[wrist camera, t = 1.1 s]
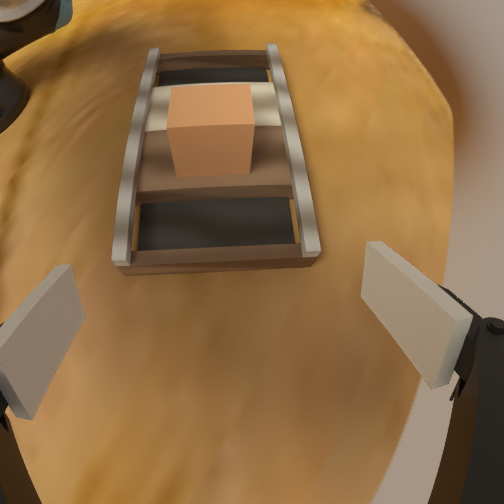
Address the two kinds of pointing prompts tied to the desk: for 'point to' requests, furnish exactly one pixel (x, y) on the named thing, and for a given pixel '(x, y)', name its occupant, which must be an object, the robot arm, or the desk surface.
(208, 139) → the terracotta block
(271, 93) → the rail track section
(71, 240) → the desk surface
